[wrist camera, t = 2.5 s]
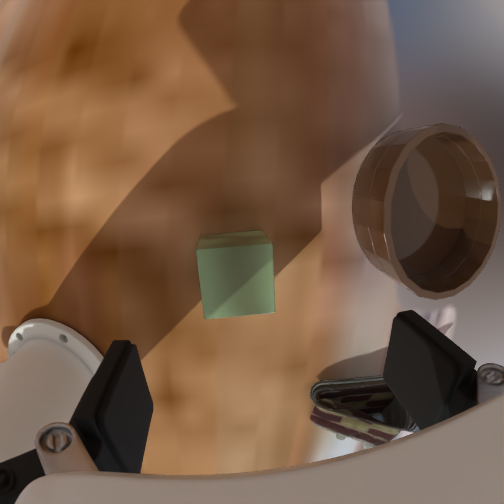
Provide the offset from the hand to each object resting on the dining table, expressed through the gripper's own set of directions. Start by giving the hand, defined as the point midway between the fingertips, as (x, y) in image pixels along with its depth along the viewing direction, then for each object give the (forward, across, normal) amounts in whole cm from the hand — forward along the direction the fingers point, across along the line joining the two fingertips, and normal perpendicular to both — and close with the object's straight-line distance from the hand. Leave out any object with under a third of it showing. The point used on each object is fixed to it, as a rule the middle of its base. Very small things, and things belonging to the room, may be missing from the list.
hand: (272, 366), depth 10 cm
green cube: (+13, +1, 0) cm, 13 cm away
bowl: (+13, -15, -4) cm, 21 cm away
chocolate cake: (+13, -10, +17) cm, 24 cm away
